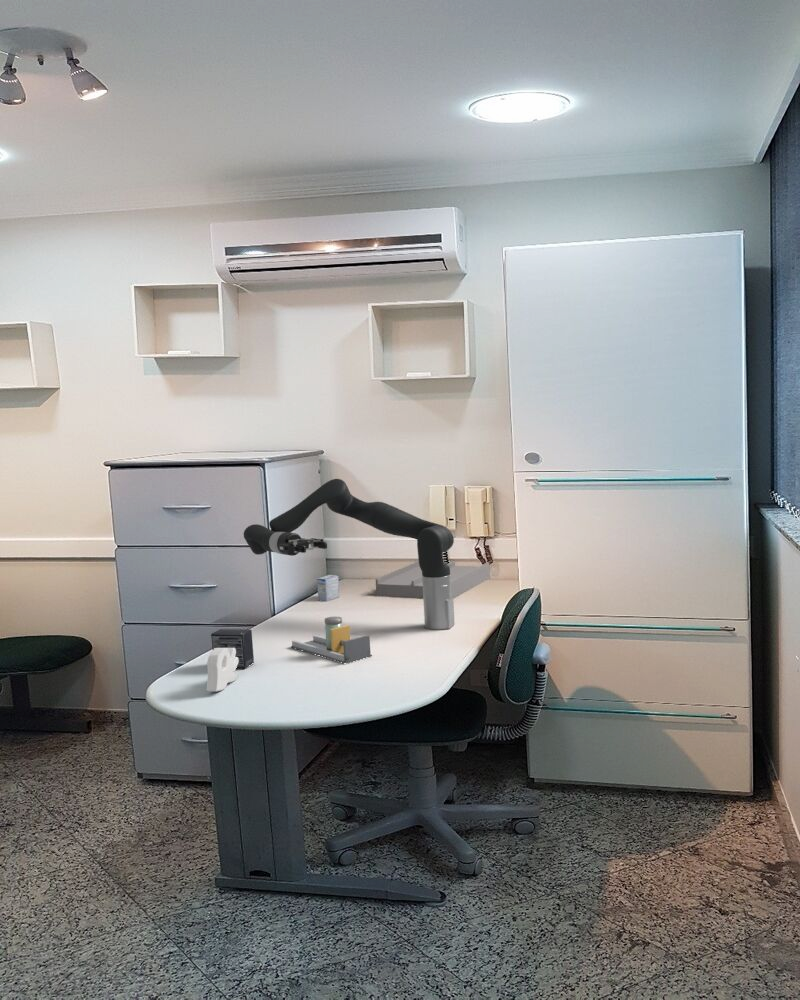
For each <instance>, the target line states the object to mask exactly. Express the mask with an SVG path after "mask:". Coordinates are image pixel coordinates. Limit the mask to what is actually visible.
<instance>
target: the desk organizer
mask: <svg viewBox="0 0 800 1000" xmlns="http://www.w3.org/2000/svg"><path fill="white" fill-rule="evenodd" d="M446 564H447V565H448V566H449V567H450V579H451V596H453V600H454V599H456V598H457V597H459V596H461V595H463V594H465V593H466V592H468V591H470V590H472V589H473V588H475V587H478V586H479V585H480V584H482V583H485V582H486V581H488V580H490V578H491V574H490V573H491V572H490V562H486V563H484V564H481V565H480V566H475V565H474V566H473V565H472V566H471V565H469V566H467V565H456V561H454V560H453V561H451V562H449V563H446ZM375 594H376V596H377V597H391V598H410V599H412V598H413V599H423V582H422V570H421V568H420V566H419V560H417V561H415V562H413V563H410V564H408V565H405V566H403V567H401V568H398V569H396V570H394V571H391V572H389V573H387V574H385V575H382V576H380V577H377V578H375Z"/></svg>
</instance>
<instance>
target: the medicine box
mask: <svg viewBox="0 0 800 1000" xmlns="http://www.w3.org/2000/svg"><path fill="white" fill-rule="evenodd" d="M316 581H317V582H316V583H317V597H318V598H317V599H318V601H321V602H329V601H331V600H335V599H338V598H340V583H339V575H334V574H328V575H325V576H321V577H318V578H317V579H316Z"/></svg>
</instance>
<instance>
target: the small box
mask: <svg viewBox="0 0 800 1000" xmlns="http://www.w3.org/2000/svg"><path fill="white" fill-rule="evenodd" d="M252 631H253V629H252V628H251V629H243V628H242V629H237V628H236V629H235V628H234V629H232V628H231V629H230V628H229V629H227V628H225V629H224V628H222V629H221V628H220V629H218V630H216V631H213V632H212V633H210V637H211V645H212V646H211V647H212V651H213V650H214V648H235V649H236V655H235V657H238V659H239V662H238V665H237V668H246V669H248V668H249V667H250V666H249V665H251V664H252V663H254V664H255V657H254V656H255V655H254V647H253V646H254V645H253V632H252ZM252 665H253V664H252ZM252 665H251V666H252ZM248 666H249V667H248ZM247 667H248V668H247Z"/></svg>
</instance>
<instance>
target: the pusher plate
mask: <svg viewBox="0 0 800 1000" xmlns="http://www.w3.org/2000/svg"><path fill="white" fill-rule="evenodd" d="M350 629H351V627H350V625H349V624H346V625H342V627H338V628H334V629H330V633H331V649H332V652H336V653H339V654H342V653H344V648H343V641H346V640H350V639H351V630H350Z"/></svg>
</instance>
